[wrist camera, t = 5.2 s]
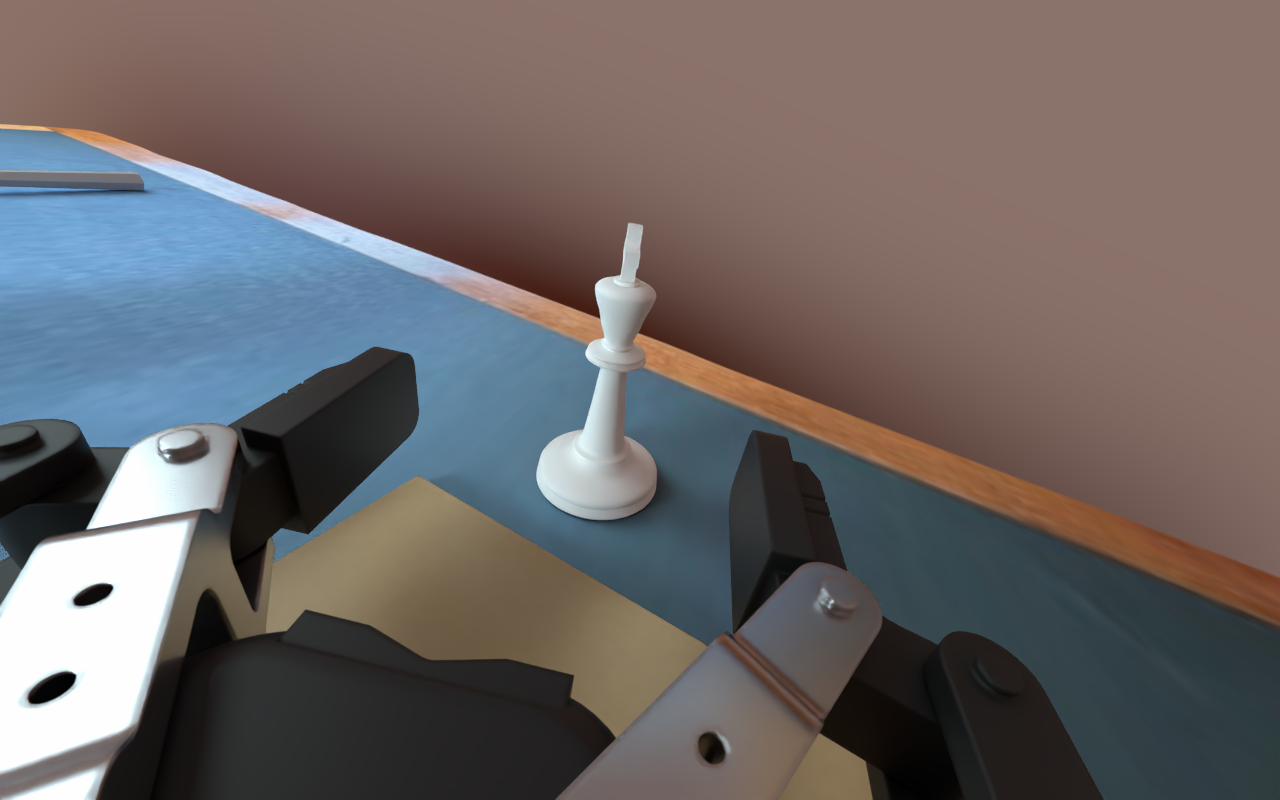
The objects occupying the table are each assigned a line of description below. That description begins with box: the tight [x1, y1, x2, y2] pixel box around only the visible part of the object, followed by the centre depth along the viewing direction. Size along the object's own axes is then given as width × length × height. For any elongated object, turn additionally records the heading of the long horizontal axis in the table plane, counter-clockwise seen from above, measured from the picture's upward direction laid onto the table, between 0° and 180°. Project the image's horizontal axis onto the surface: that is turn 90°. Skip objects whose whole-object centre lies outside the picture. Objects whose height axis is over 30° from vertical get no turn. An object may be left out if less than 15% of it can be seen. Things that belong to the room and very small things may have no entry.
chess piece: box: [536, 223, 657, 520], centre depth 17 cm, size 5×5×10 cm
